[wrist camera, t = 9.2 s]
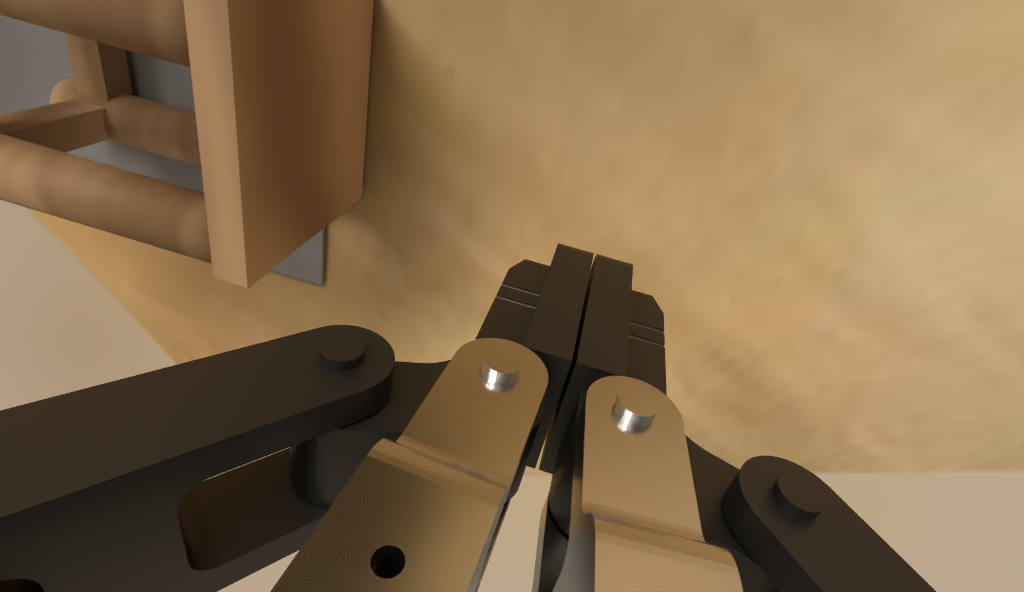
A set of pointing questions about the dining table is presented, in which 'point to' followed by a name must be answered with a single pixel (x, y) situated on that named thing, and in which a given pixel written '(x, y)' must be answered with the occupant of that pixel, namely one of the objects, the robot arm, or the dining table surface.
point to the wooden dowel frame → (201, 124)
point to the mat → (45, 62)
